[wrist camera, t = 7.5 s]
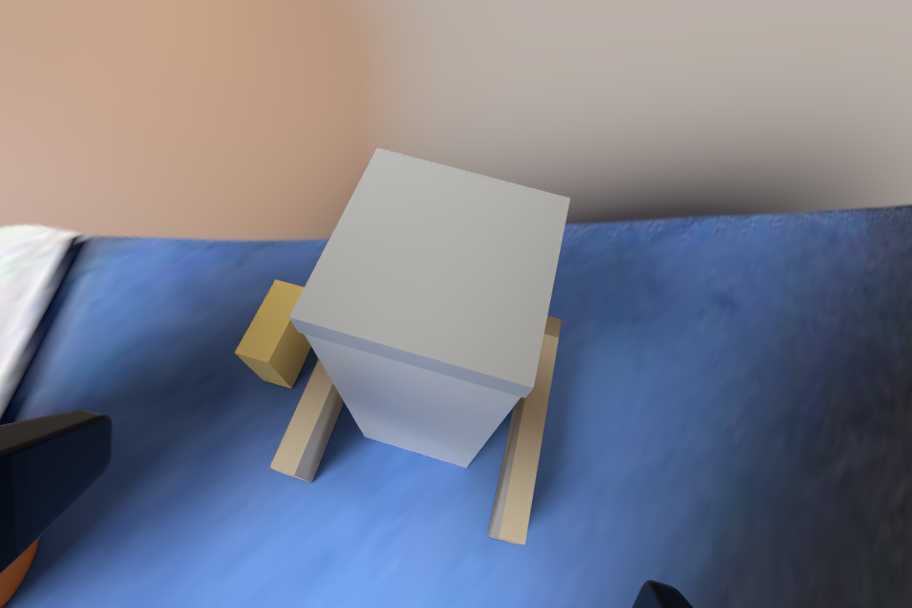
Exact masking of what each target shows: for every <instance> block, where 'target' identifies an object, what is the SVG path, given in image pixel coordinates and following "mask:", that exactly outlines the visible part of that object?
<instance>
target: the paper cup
mask: <svg viewBox="0 0 912 608" xmlns="http://www.w3.org/2000/svg"><path fill="white" fill-rule="evenodd" d="M40 538H41V536H40V537H39V538H38V539H37V540H36V541H35V542H34V543H33V544H32V545H31V546H30V547H29V548H28V549H27V550H26V551H25V552H24V553H23V554H22V555H21V556H20V557H19V558H18V559H17V560H15V561H14V562H13V563H12V564H11V565H10V566H9V567H8V568H7V569H5V570H4V571H3V572H2V573H1V574H0V608H3V607H4V606H5V605H6V604H7V602H8V601H9V600H10V599H11V597H12V596H13V595H14V593H15V592H16V591H17V589H18V588H19V586H20V585H21V583H22V582H23V580H24V578H25V576H26V575H27V573H28V571H29V569H30V567H31V565H32V562H33V560H34V558H35V555H36V552H37V549H38V546H39V542H40Z"/></svg>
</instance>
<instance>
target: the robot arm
mask: <svg viewBox="0 0 912 608" xmlns="http://www.w3.org/2000/svg"><path fill="white" fill-rule="evenodd" d="M111 456H112V421H111V419H110V417H108V416H107V415H104V414H101V413H98V412H94V411H91V410H76V411H71V412H66V413H61V414H56V415H51V416H46V417H41V418H36V419H31V420H25V421H20V422H15V423H10V424H5V425H0V574H1V573H2V572H3V571H4V570H5V569H7V568H8V567H9V566H10V565H11V564H12V563H13V562H14V561H15V560H17V559H18V558H19V557H20V556H21V555H22V554H23V553H24V552H25V551H26V550H27V549H28V548H29V547H30V546H31V545H32V544H33V543H34V542H35V541H36V540H37V539H38V538H39V537H40V536H41V535H42V534H43V533H44V532H45V531H46V530H47V529H48V528H49V527H50V526H51V525H52V524H53V523H54V522H55V521H56V520H57V519H58V518H59V517H60V516H61V515H62V514H63V513H64V512H65V511H66V510H67V509H68V508H69V507H70V506H71V505H72V504H73V503H74V502H75V501H76V500H77V499H78V498H79V497H80V496H81V495H82V494H83V493H84V492H85V491H86V490H87V489H88V488H89V487H90V486H91V485H92V484H93V483H94V482H95V481H96V480H97V479H98V478H99V477H100V476H101V475H102V474H103V472H104V471H105V470H106V468H107V467H108V465H109V463H110V460H111ZM632 608H693V607H692V606H691V604H690V603H689V602H688V601H687V600H686V599H685V598H684V596H683V595H682V594H681V593H680V592H679V591H678V590H677V589H676V588H674V587H672V586H670V585H667V584H663V583H660V582H657V581H653V580H648V581H646V582H645V583H644V584H643V586H642V588H641V590H640V592H639V594H638V596H637V598H636V600H635V602H634V604H633V606H632Z"/></svg>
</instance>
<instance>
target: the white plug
mask: <svg viewBox="0 0 912 608" xmlns="http://www.w3.org/2000/svg"><path fill="white" fill-rule="evenodd" d="M569 202H570V198H568V197H564V196H560V195H556V194H552V193H548V192H545V191H541V190H537V189H533V188H529V187H526V186H522V185H518V184H514V183H510V182H507V181H502V180H499V179H495V178H491V177H487V176H484V175H479V174H475V173H472V172H468V171H464V170H461V169H457V168H453V167H449V166H445V165H441V164H438V163H434V162H430V161H426V160H422V159H419V158H414V157H411V156H407V155H403V154H399V153H396V152H392V151H388V150H384V149H380V148H377V149H376V151H375V153H374V155H373V157H372V159H371V161H370V163H369V165H368V167H367V169H366V170H365V172H364V175H363V176H362V178H361V180H360V182H359V184H358V186H357V188H356V190H355V191H354V193H353V195H352V197H351V199H350V201H349V203H348V205H347V207H346V209H345V211H344V213H343V214H342V216H341V218H340V220H339V222H338V224H337V226H336V228H335V230H334V232H333V234H332V236H331V237H330V239H329V241H328V243H327V245H326V247H325V249H324V251H323V253H322V255H321V257H320V259H319V260H318V262H317V264H316V266H315V268H314V270H313V272H312V274H311V276H310V278H309V280H308V281H307V283H306V285H305V287H304V289H303V291H302V293H301V295H300V297H299V299H298V301H297V303H296V304H295V306H294V308H293V310H292V312H291V314H290V316H289V318H290V320H291V321H292V323H293V325H294V326H295V328H296V330H297V331H298V332H299V333H303V334H304V335H305V336H306V338H307V340H308V341H309V343H310V345H311V347H312V348H313V350H314V352H315V353H316V355H317V357H318V358H319V360H320V362H321V363H322V365H323V367H324V369H325V370H326V372H327V374H328V375H329V377H330V379H331V380H332V382H333V384H334V386H335V387H336V389H337V391H338V392H339V394H340V396H341V397H342V399H343V401H344V402H345V404H346V406H347V408H348V409H349V411H350V413H351V414H352V416H353V418H354V419H355V421H356V423H357V425H358V426H359V428H360V430H361V431H362V433H363V435H364V436H365V437H366V438H369V439H373V440H376V441H379V442H383V443H386V444H389V445H393V446H396V447H399V448H402V449H406V450H409V451H412V452H416V453H419V454H422V455H425V456H429V457H432V458H435V459H439V460H442V461H445V462H448V463H452V464H455V465H458V466H462V467H465V468H467V466H468V465H469V464H470V462H471V461H472V460H473V459H474V457H475V456H476V455H477V453H478V452H479V451H480V449H481V448H482V447H483V446H484V444H485V443H486V442H487V440H488V439H489V438H490V437H491V435H492V434H493V433H494V431H495V430H496V429H497V428H498V426H499V425H500V424H501V422H502V421H503V420H504V418H505V417H506V416H507V415H508V413H509V412H510V411H511V409H512V408H513V407H514V406H515V404H516V403H517V402H518V400H519V399H520V398H521V397H522V398H526V397H527V395H528V394H529V393H530V392H531V391H532V389H533V388H534V383H535V378H536V373H537V368H538V362H539V357H540V352H541V347H542V342H543V337H544V331H545V326H546V321H547V316H548V311H549V306H550V300H551V295H552V290H553V285H554V280H555V274H556V269H557V264H558V259H559V254H560V249H561V243H562V238H563V233H564V228H565V223H566V218H567V212H568V207H569Z"/></svg>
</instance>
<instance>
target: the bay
mask: <svg viewBox="0 0 912 608" xmlns="http://www.w3.org/2000/svg"><path fill="white" fill-rule="evenodd" d="M561 322H562V319H559V318H555V317H551V316H547V321H546V326H545V331H544V337H543V342H542V347H541V352H540V357H539V362H538V368H537V373H536V378H535V383H534V388H533V389H532V391H531V392H530V393H529V394H528V395H527V397H526V398H522V397H521V398H520V399H519V400H518V402H517V403H516V404H515V406H514V407H513V411H512V416H511V421H510V426H509V431H508V436H507V441H506V446H505V451H504V455H503V460H502V465H501V470H500V475H499V480H498V485H497V490H496V495H495V500H494V505H493V510H492V515H491V519H490V524H489V529H488V534H487V536H488V537H492V538H495V539H498V540H502V541H505V542H508V543H514V544H521V545H525V541H526V535H527V529H528V523H529V517H530V511H531V505H532V499H533V493H534V487H535V481H536V474H537V468H538V462H539V456H540V450H541V444H542V438H543V432H544V426H545V420H546V413H547V407H548V401H549V395H550V389H551V383H552V377H553V371H554V365H555V359H556V353H557V346H558V340H559V334H560V328H561ZM343 404H344V401H343V399H342V397H341V396H340V394H339V392H338V391H337V389H336V387H335V386H334V384H333V382H332V380H331V379H330V377H329V375H328V374H327V372H326V370H325V369H324V367H323V365H322V363H321V362H320V360H319V359H318V361H317V364H316V366H315V368H314V370H313V373H312V375H311V377H310V379H309V381H308V384H307V386H306V388H305V390H304V392H303V395H302V397H301V399H300V401H299V404H298V406H297V408H296V410H295V412H294V415H293V417H292V419H291V421H290V424H289V426H288V428H287V430H286V432H285V435H284V437H283V439H282V441H281V443H280V446H279V448H278V450H277V452H276V455H275V457H274V459H273V461H272V463H271V466H270V468H271V469H274V470H276V471H278V472H281V473H283V474H286V475H288V476H291V477H294V478H297V479H300V480H304V481H307V482H310V483H312V482H313V479H314V477H315V474H316V472H317V469H318V467H319V464H320V462H321V459H322V457H323V454H324V452H325V449H326V447H327V444H328V442H329V439H330V436H331V434H332V431H333V429H334V426H335V424H336V421H337V419H338V416H339V414H340V411H341V409H342V406H343Z"/></svg>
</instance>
